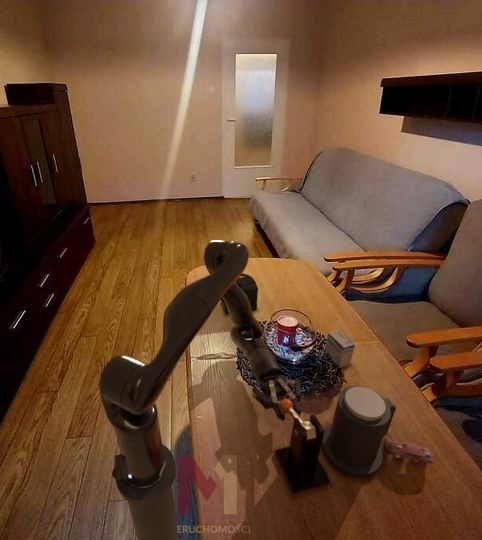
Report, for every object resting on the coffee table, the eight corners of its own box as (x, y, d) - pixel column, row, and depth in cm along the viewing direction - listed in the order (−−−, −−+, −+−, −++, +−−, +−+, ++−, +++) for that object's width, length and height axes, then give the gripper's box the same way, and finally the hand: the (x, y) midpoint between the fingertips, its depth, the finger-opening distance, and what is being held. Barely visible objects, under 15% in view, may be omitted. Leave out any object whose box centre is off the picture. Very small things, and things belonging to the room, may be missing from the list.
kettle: (341, 485, 79) (356, 435, 70) (311, 431, 91) (320, 383, 82) (398, 468, 82) (419, 419, 73) (362, 419, 94) (376, 371, 85)
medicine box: (323, 352, 116) (327, 332, 112) (334, 349, 118) (338, 329, 113) (339, 369, 110) (343, 348, 106) (350, 365, 111) (355, 344, 107)
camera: (218, 300, 144) (217, 269, 137) (250, 296, 146) (251, 265, 139) (223, 316, 135) (223, 283, 128) (258, 311, 137) (260, 279, 130)
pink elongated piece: (383, 457, 86) (391, 454, 80) (383, 438, 88) (390, 433, 83) (428, 469, 83) (439, 466, 78) (426, 448, 86) (437, 444, 80)
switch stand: (274, 452, 86) (280, 410, 78) (308, 444, 88) (316, 402, 80) (292, 494, 78) (300, 451, 70) (329, 483, 80) (340, 440, 72)
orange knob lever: (277, 410, 88) (276, 398, 88) (290, 407, 89) (289, 395, 88) (304, 442, 74) (303, 428, 74) (319, 439, 75) (317, 424, 75)
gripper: (241, 362, 96) (264, 411, 81) (289, 352, 99) (319, 399, 84) (241, 382, 100) (263, 433, 85) (287, 372, 102) (316, 420, 87)
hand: (291, 416), depth 84 cm, fingers closed on orange knob lever, 3 cm apart
